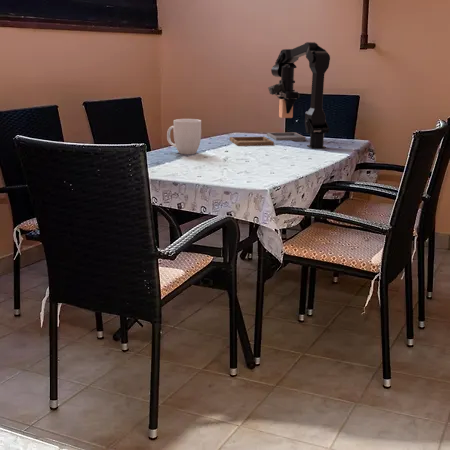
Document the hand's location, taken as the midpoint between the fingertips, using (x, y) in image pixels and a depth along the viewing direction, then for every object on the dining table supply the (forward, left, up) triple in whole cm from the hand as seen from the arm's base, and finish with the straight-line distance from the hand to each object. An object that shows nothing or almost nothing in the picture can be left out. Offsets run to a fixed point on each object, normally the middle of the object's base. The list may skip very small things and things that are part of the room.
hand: (286, 112), depth 300 cm
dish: (-14, +19, -12) cm, 27 cm away
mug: (-34, +51, -12) cm, 63 cm away
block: (0, 0, -2) cm, 2 cm away
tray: (0, -1, -12) cm, 12 cm away
